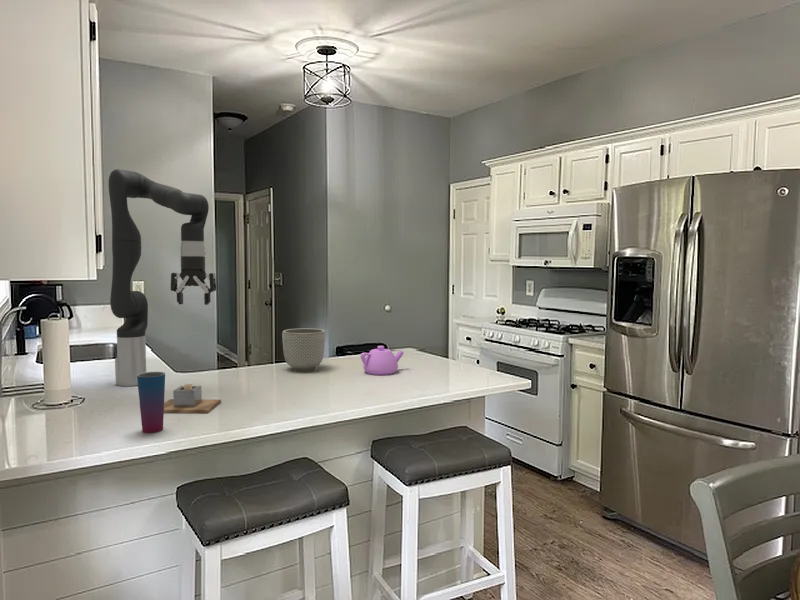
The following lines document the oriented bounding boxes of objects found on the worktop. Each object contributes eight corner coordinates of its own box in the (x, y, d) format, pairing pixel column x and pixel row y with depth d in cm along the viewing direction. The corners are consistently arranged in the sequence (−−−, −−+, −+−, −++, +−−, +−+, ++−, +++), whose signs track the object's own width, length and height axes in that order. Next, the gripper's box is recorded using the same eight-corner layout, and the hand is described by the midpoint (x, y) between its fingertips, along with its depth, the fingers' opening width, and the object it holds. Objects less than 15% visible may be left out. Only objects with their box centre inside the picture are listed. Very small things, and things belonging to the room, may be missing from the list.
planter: (273, 370, 226) (273, 330, 225) (306, 364, 240) (306, 326, 238) (301, 376, 215) (300, 335, 214) (334, 369, 228) (334, 330, 227)
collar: (173, 407, 167) (173, 390, 166) (181, 401, 173) (181, 385, 172) (194, 407, 167) (194, 390, 166) (201, 401, 173) (201, 385, 172)
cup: (144, 426, 151) (142, 371, 150) (170, 425, 151) (168, 371, 150) (134, 434, 144) (132, 377, 143) (161, 433, 145) (160, 376, 144)
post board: (153, 412, 164) (152, 389, 163) (170, 402, 176) (169, 380, 175) (207, 413, 164) (207, 389, 163) (221, 402, 176) (220, 380, 175)
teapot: (412, 372, 224) (412, 346, 223) (369, 378, 213) (369, 350, 212) (393, 366, 236) (393, 341, 235) (352, 371, 224) (352, 345, 224)
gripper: (166, 254, 179) (167, 305, 181) (210, 255, 179) (211, 305, 181) (175, 255, 187) (177, 303, 188) (218, 255, 187) (219, 303, 188)
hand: (193, 304), depth 184 cm, fingers open, 8 cm apart
